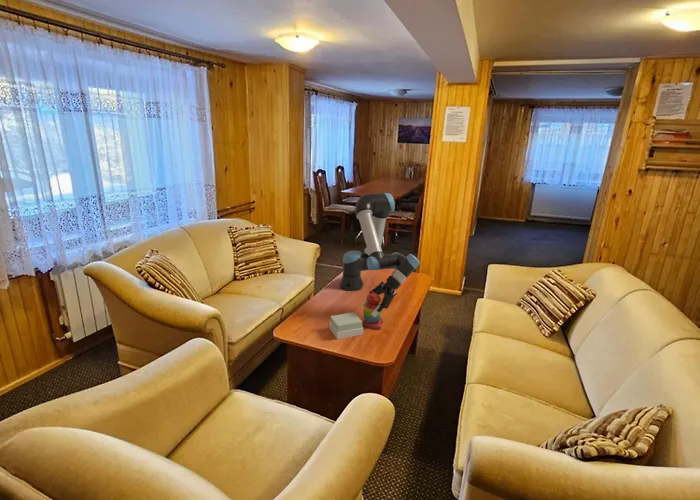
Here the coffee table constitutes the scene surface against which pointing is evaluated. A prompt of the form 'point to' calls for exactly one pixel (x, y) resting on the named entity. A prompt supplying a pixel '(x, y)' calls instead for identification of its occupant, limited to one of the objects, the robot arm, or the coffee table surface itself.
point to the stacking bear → (370, 306)
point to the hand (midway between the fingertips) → (368, 311)
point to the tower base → (346, 333)
